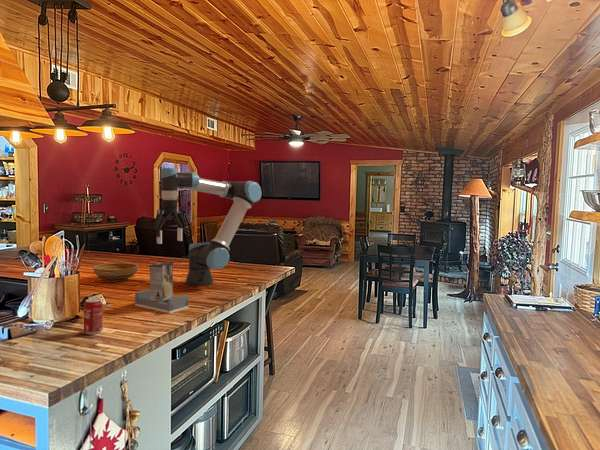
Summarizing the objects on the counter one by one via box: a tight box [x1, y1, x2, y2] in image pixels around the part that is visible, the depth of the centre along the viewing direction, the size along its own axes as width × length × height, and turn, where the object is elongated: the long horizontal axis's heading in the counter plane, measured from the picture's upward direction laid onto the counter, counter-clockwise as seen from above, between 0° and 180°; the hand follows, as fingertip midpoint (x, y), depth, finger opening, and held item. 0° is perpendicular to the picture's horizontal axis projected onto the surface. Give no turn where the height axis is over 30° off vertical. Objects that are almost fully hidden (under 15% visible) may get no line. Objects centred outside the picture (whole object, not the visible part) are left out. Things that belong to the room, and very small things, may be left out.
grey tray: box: [134, 288, 190, 314], centre depth 197 cm, size 11×22×6 cm, turn 60°
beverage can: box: [83, 298, 104, 335], centre depth 161 cm, size 6×6×12 cm
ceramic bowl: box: [92, 262, 140, 283], centre depth 252 cm, size 30×24×8 cm
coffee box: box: [149, 261, 174, 302], centre depth 197 cm, size 9×6×16 cm
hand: (169, 242), depth 219 cm, fingers open, 13 cm apart
